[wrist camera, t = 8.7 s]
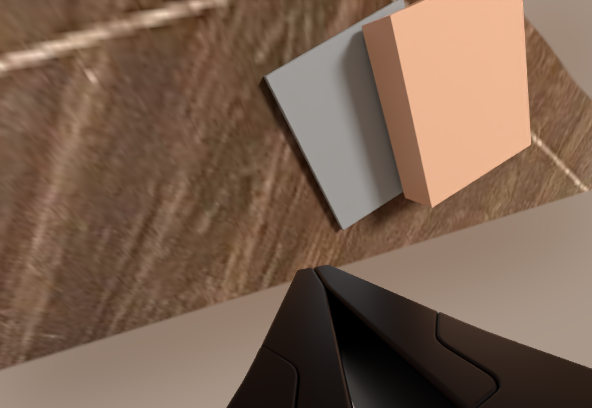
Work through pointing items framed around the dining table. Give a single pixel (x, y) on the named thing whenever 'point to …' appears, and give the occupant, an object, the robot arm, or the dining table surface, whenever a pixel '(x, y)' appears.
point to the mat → (340, 121)
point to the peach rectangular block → (451, 90)
